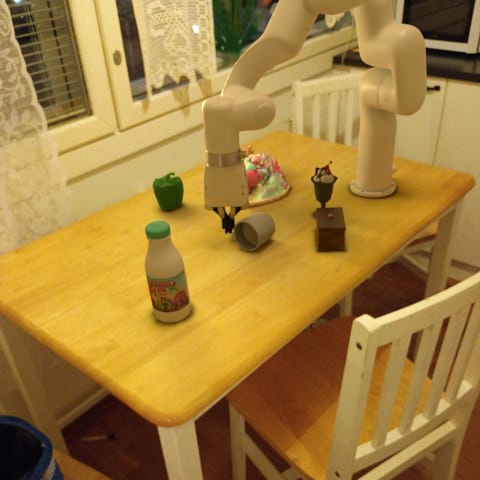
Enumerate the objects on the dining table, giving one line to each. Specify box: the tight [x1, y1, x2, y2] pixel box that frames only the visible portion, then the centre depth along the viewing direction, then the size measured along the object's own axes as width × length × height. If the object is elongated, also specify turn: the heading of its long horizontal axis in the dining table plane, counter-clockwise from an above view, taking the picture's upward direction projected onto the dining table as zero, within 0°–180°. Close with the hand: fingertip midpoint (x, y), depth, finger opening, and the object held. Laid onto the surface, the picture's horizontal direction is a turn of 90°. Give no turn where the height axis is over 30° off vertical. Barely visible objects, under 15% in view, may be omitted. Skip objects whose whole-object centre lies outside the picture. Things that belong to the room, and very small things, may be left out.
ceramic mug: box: [230, 211, 276, 252], centre depth 127 cm, size 11×8×8 cm
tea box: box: [315, 206, 347, 252], centre depth 125 cm, size 6×10×7 cm, turn 176°
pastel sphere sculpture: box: [242, 144, 290, 207], centre depth 153 cm, size 25×24×9 cm
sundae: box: [310, 160, 339, 218], centre depth 134 cm, size 7×7×15 cm
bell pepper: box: [152, 171, 185, 211], centre depth 145 cm, size 8×8×10 cm
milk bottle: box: [144, 220, 192, 323], centre depth 103 cm, size 8×8×20 cm
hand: (229, 230), depth 127 cm, fingers closed
